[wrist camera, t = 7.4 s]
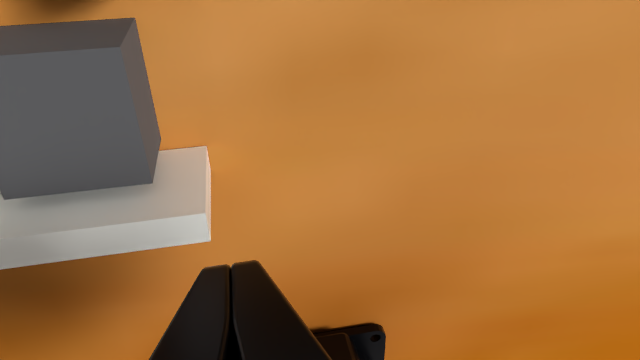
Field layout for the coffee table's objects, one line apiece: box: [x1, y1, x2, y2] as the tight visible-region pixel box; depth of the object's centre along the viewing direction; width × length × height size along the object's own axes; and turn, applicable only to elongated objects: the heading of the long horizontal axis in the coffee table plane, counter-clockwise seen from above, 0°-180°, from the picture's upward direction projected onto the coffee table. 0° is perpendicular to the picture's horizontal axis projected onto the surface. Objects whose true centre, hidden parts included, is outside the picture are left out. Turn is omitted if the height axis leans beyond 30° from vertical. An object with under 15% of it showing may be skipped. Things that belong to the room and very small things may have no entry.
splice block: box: [0, 18, 161, 200], centre depth 14 cm, size 4×4×3 cm
